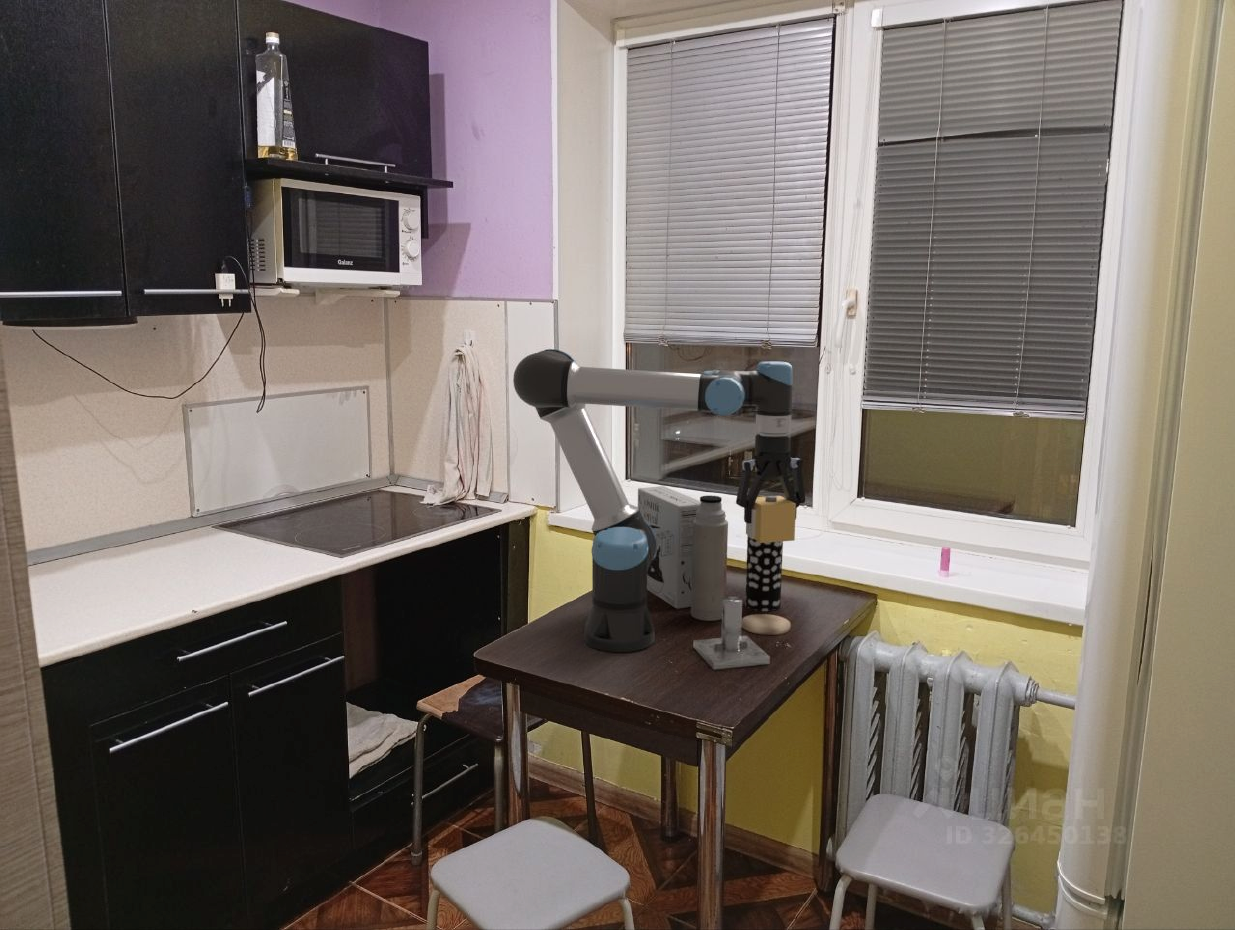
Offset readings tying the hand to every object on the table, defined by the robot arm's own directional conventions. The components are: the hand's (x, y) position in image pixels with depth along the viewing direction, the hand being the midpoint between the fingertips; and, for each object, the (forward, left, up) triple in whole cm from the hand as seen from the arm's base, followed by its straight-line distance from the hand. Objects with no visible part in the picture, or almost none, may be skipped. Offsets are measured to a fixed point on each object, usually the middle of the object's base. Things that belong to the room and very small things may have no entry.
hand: (769, 535), depth 202 cm
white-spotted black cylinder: (+5, +13, -21) cm, 25 cm away
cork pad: (0, 0, -21) cm, 21 cm away
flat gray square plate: (-14, -14, -21) cm, 29 cm away
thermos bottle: (-10, +10, -21) cm, 26 cm away
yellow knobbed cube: (0, 0, 0) cm, 0 cm away
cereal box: (-14, +27, -21) cm, 37 cm away
